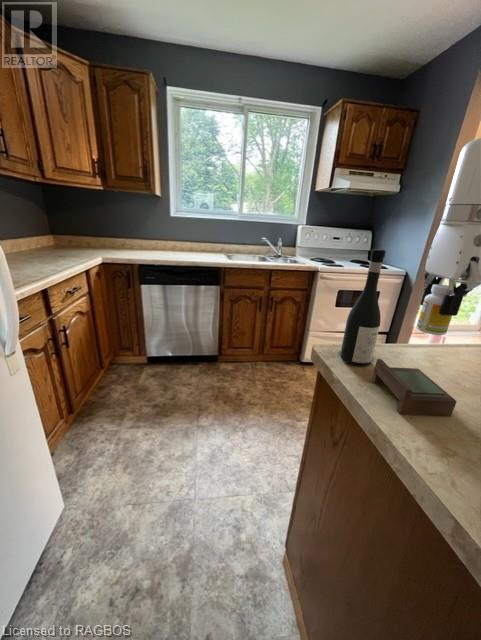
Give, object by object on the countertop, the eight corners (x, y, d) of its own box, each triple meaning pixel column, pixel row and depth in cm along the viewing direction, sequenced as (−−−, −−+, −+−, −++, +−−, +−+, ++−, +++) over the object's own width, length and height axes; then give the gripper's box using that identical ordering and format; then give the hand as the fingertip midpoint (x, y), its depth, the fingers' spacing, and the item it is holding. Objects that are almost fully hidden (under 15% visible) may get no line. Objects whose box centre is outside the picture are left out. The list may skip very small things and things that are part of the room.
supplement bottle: (451, 334, 56) (467, 289, 53) (434, 337, 55) (449, 290, 51) (427, 325, 61) (440, 282, 58) (410, 327, 59) (422, 283, 56)
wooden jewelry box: (412, 386, 64) (420, 360, 62) (448, 422, 53) (460, 392, 50) (370, 385, 64) (377, 358, 61) (397, 420, 53) (407, 389, 50)
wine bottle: (377, 364, 73) (405, 251, 63) (356, 370, 70) (382, 251, 60) (353, 352, 80) (376, 247, 70) (333, 356, 77) (353, 247, 66)
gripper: (532, 217, 42) (490, 326, 48) (453, 218, 58) (429, 299, 64) (484, 215, 42) (447, 323, 48) (418, 216, 58) (397, 298, 64)
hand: (437, 309), depth 56 cm, fingers closed on supplement bottle, 5 cm apart
